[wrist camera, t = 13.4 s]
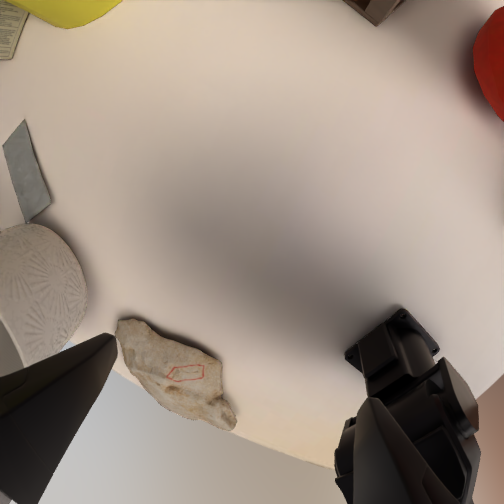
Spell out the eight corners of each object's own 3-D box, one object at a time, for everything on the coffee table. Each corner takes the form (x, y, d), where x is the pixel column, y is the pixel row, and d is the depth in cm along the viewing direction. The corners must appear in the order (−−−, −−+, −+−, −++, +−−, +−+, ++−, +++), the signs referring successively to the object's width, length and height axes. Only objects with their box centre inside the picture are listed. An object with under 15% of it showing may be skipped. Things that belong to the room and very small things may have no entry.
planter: (13, 197, 23) (-70, 236, 13) (104, 233, 23) (9, 299, 13) (21, 297, 28) (-38, 347, 19) (101, 342, 28) (44, 415, 18)
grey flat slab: (25, 117, 20) (28, 117, 20) (2, 144, 22) (5, 144, 22) (48, 205, 22) (52, 204, 22) (23, 225, 24) (26, 223, 24)
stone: (239, 415, 29) (234, 436, 27) (151, 407, 31) (142, 424, 29) (211, 314, 25) (201, 335, 22) (108, 313, 27) (92, 330, 24)
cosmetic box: (-6, 59, 18) (37, -39, 13) (12, 61, 18) (60, -45, 13) (-51, 58, 12) (-2, -53, 7) (-37, 59, 12) (19, -62, 7)
